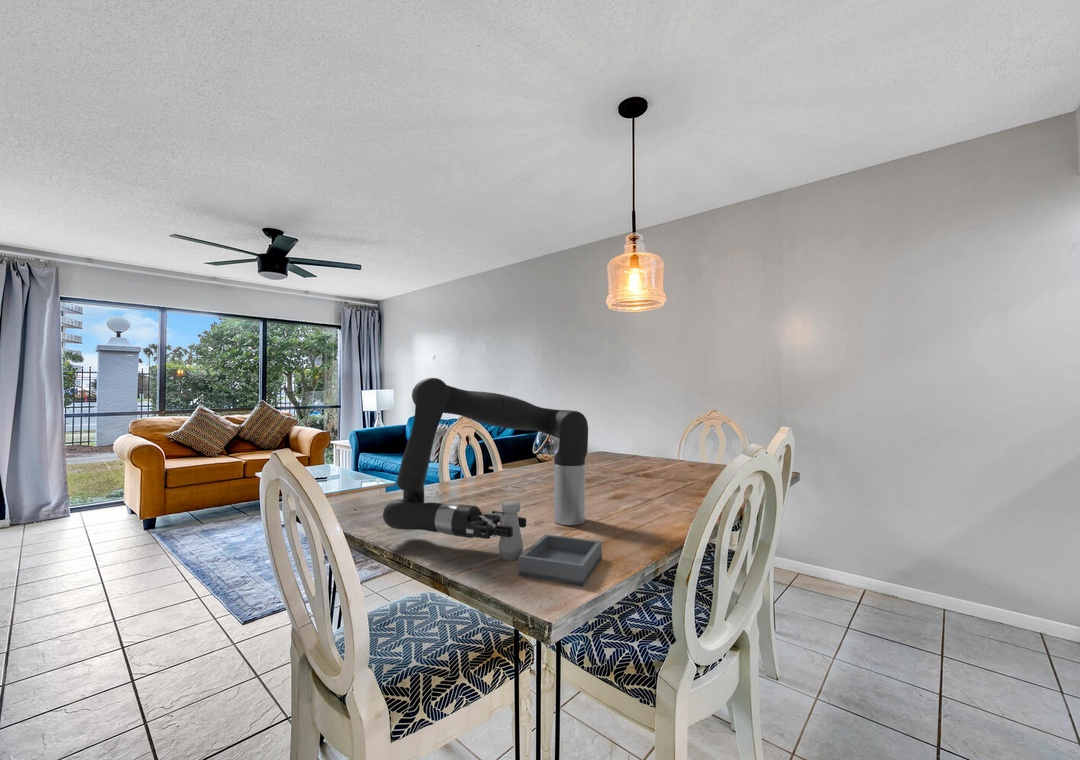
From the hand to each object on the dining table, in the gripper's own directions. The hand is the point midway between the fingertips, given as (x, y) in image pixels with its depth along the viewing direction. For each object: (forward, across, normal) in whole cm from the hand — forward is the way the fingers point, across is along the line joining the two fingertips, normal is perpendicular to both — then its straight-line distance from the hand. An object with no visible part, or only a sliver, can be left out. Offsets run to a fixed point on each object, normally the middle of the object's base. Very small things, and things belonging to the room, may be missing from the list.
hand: (519, 527), depth 105 cm
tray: (+11, -1, +7) cm, 13 cm away
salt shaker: (-2, 0, +7) cm, 8 cm away
